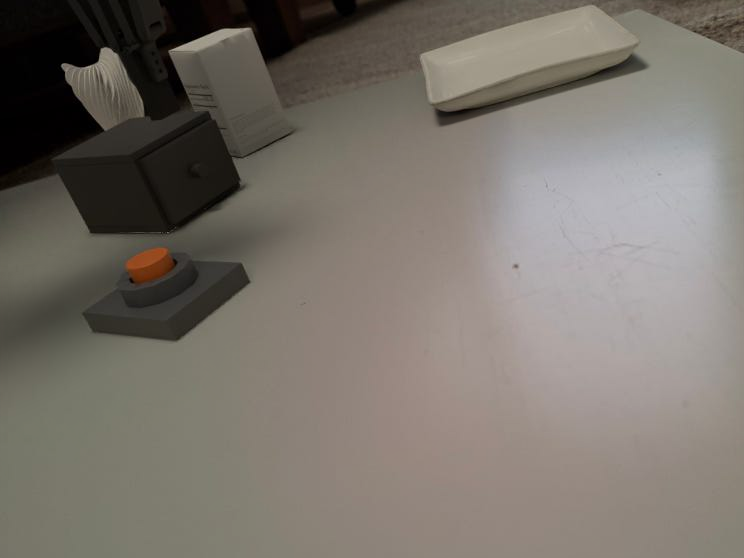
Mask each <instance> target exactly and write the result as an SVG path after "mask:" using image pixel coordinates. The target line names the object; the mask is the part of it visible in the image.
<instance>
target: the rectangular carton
mask: <svg viewBox="0 0 744 558" xmlns="http://www.w3.org/2000/svg"><path fill="white" fill-rule="evenodd" d="M167 52H168V54H169V57H170V59H171V61H172V64H173V66H174V68H175V70H176V72H177V75H178V77H179V79H180V81H181V83H182V86H183V88H184V91H185V92H186V95H187V97H188V100H189V101H190V104H191V106H192V108H193V112H198V111H209V113H210V115H211V118H212V120H214V119H215V120H216V122H217V125H218V127H219V129H220V132H221V134H222V136H223V139H224V141H225V143H226V146H227V148H228V151H229V153H230V155H231V157H237V158H238V157H239V158H243V157H246V156H248V155H250V154H252V153H254V152H256V151H258V150H260V149H261V148H264V147H265V146H267V145H269V144H272V143H273V142H275V141H277V140H279V139H281V138H283V137H286V136H287V135H289V134H291V133H292V129H291V127H290V126H291V125H290V124H289V122H288V119H287V116H286V113H285V110H284V108H283V106H282V104H281V101H280V99H279V96H278V93H277V91H276V88H275V85H274V84H273V81H272V78H271V76H270V72H269V70H268V68H267V65H266V63H265V60H264V57H263V55H262V52H261V50H260V47H259V44H258V42H257V39H256V37H255V34H254V31H253V29H252V27H245V28H244V27H242V28H222V29H219V30H216V31H214V32H211V33H209V34H206V35H204V36H202V37H199V38H197V39H194V40H192V41H190V42H187V43H184V44H182V45H180V46H177V47H175V48H172V49H169V50H168V51H167Z"/></svg>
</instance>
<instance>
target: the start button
mask: <svg viewBox="0 0 744 558" xmlns="http://www.w3.org/2000/svg"><path fill="white" fill-rule="evenodd" d="M170 253H171V252H170V251H169V249H168V248H166V247H155V248H151V249H148V250H144V251H142V252H140V253H138V254H136V255H135V256H132V258H130V259H129V260H128V261H127V262H126V263H125V269H126V272H127V271H128V273H129V274H130V276H131V278H132V280H133V282H134V283H136V284H141V283H145V282H149V281H152V280H155V279H157V278H159V277H161V276H164V275H166V274H167V273H168V272H170V271H171V270H172V269H174V268H175V263H174V261H173V259H172V257H171V255H170Z"/></svg>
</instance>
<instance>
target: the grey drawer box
mask: <svg viewBox="0 0 744 558" xmlns="http://www.w3.org/2000/svg"><path fill="white" fill-rule="evenodd" d="M208 120H212V118H211V115H210V113H209V111H198V112H195V111H190V112H180V113H179V112H177V113H173V114H172V115H170V116H168V117H166V118H164V119H163V120H156V121H151V118H150V116H149V115H148V116H147V115H146V116H145V117H137V118H129V119H127V120H125V121H124V122H122V123H120V124H118V125H116V126H114V127H112V128H110V129H108V130H106V131H105V130H104V131H102V132H101V133H99V134H97V135H95V136H93V137H91V138H89V139H87V140H85V141H83V142H81V143H79V144H78V145H76V146H74V147H72V148H70V149H68V150H66V151H64V152H62V153H60V154H59V155H57V156H55V157H53V158H51V159H50V162H51V163H52V165H53V167H54V169H55V171H56V173H57V174H58V176H59V178H60V180H61V182H62V183H63V185H64V187H65V189H66V191H67V192H68V194H69V197H70V198H71V201H73V203H74V205H75V207H76V209H77V211H78V213H79V215H80V216H81V218H82V220H83V222H84V223H85V225H86V227H87V229H88V231H89V233H90V234H115V233H114V232H161V233H160V234H168V233H167V232H170V231H171V230H173V229H174V228H175V227H177V226H179V225H180V226H182V225H183V224H185V223H186V222H188V221H190V220H191V219H192V218H194V217H196V216H197V215H198V214H200V213H201V212H203V211H205V210H206V209H207V207H208V206H209V207H210V205H211V206H212V205H214V204H215V203H217V202H218V201H220V200H221V199H223V198H224V197H225V196H228V194H230V193H231V192H233V191H234V190H236V189H237V188H240V186H241V183H240V181H239V182H238V183H236V184H235V185H233V186H232V187H230V188H229V189H227V190H226V191H224V192H223V193H221V194H220V195H218V196H217V197H215V198H214V199H212V200H211V201H209V202H208V203H206V204H205V205H203V206H202V207H200V208H199V209H197V210H196V211H194V212H193V213H191V214H190V215H188V216H187V217H185V218H184V219H182V220H181V221H179V222H178V223H176V224H169V223H168V221H167V219H166V217H165V214H164V212H163V210H162V208H161V206H160V204H159V202H158V200H157V198H156V196H155V194H154V192H153V190H152V188H151V186H150V184H149V182H148V180H147V178H146V176H145V173H144V171H143V169H142V167H141V165H140V163H139V161H138V160H140V158H141V157H143V156H145V155H147V154H148V153H150V152H152V151H154V150H155V149H157V148H159V147H161V146H162V145H164V144H166V143H168V142H169V141H171V140H173V139H175V138H176V137H178V136H180V135H182V134H183V133H185V132H187V131H189V130H190V129H192V128H194V127H196V126H199V125H201V124H203V123H204V122H206V121H208ZM216 201H217V202H216ZM213 203H214V204H213ZM209 207H208V208H209ZM205 208H206V209H205ZM204 209H205V210H204ZM202 210H203V211H202ZM199 212H200V213H199ZM196 214H197V215H196ZM187 220H188V221H187ZM184 222H185V223H184ZM182 223H183V224H182ZM181 224H182V225H181ZM180 226H179V227H180ZM177 228H178V227H177ZM174 230H175V229H174ZM174 230H173V231H174ZM109 232H110V233H109ZM162 232H163V233H162ZM165 232H166V233H165ZM171 232H172V231H171ZM171 232H170V233H171Z"/></svg>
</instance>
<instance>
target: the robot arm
mask: <svg viewBox="0 0 744 558" xmlns="http://www.w3.org/2000/svg"><path fill="white" fill-rule="evenodd" d="M66 1H67V3H68V4H69V6H70V7H71V9H72V10H73V12H74V14H75V15H76V16H77V17H78V18H77V19H78V20H79V21H80V22H81V24H82V25H83V27H84V29H85V30H86V32H87V34H88V35H89V36H90V38H91V40H92V41H93V43H94V44H95V46H96V47H97V48H98V49H100V50H101V49H103V48H105V47H106V48H109V49H111V50H112V51H113V52H114V53H117V54H118V56H119V57H120V60H121V62H122V64H123V66H124V68H125V70H126V72H127V74H128V77H129V79H130V81H131V82H132V83H133V85H134V86H136V88H137V91H138V93H139V95H140V97H141V99H142V101H143V106H144V109H145V110H146V112H147V114H148V116H150V118H151V121H156V120H163V119H164V118H166V117H168V116H170V115H172V114H176V113H178V112H179V111H181V110H182V109H181V106H180V104H179V102H178V99H177V97H176V94H175V93H174V90H173V88H172V86H171V83H170V81H169V79H168V78H169V74H168V70H167V68H166V66H165V63H164V61H163V59H162V57H161V53H160V52H159V50H158V48H157V43H156V41H157V39H158V38H159V37H160V36H161V35H163V34H165V33H166V32H167V26H166V22H165V17H164V14H163V10H162V6H161V3H160V0H66Z"/></svg>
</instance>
